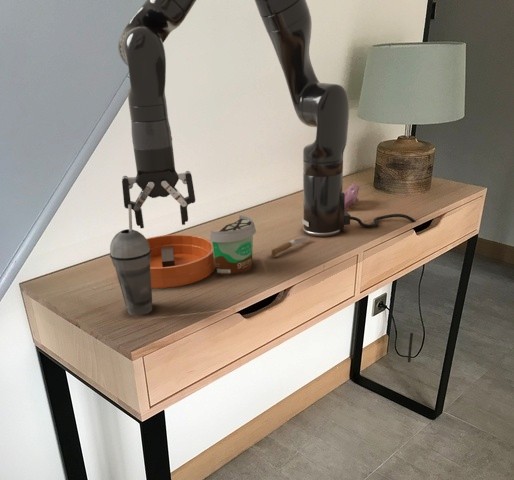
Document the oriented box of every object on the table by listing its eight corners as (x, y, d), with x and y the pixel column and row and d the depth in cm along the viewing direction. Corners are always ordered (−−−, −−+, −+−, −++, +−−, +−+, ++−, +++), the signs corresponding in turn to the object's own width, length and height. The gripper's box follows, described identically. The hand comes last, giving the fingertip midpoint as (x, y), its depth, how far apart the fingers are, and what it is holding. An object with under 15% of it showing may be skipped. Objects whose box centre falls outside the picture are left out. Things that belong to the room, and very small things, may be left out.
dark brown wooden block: (179, 256, 131) (177, 245, 130) (182, 281, 118) (180, 269, 117) (157, 258, 130) (156, 247, 129) (158, 284, 118) (156, 272, 116)
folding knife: (306, 240, 137) (306, 231, 136) (312, 241, 136) (311, 233, 135) (269, 257, 129) (269, 248, 128) (274, 258, 128) (274, 250, 127)
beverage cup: (122, 304, 111) (104, 200, 101) (161, 301, 111) (145, 197, 101) (118, 321, 105) (97, 213, 95) (158, 318, 105) (142, 209, 95)
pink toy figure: (349, 217, 155) (362, 194, 152) (334, 209, 155) (346, 186, 152) (351, 206, 164) (363, 184, 160) (337, 199, 164) (349, 176, 160)
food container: (239, 283, 117) (235, 235, 112) (213, 278, 120) (209, 231, 115) (267, 262, 126) (266, 217, 121) (243, 258, 129) (240, 214, 124)
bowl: (211, 249, 135) (209, 230, 133) (220, 283, 117) (219, 262, 115) (123, 258, 132) (120, 239, 130) (120, 294, 115) (116, 273, 113)
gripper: (114, 150, 108) (127, 234, 116) (190, 144, 109) (198, 228, 117) (116, 143, 114) (128, 223, 122) (188, 138, 116) (196, 217, 124)
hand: (163, 225), depth 120 cm, fingers open, 8 cm apart
